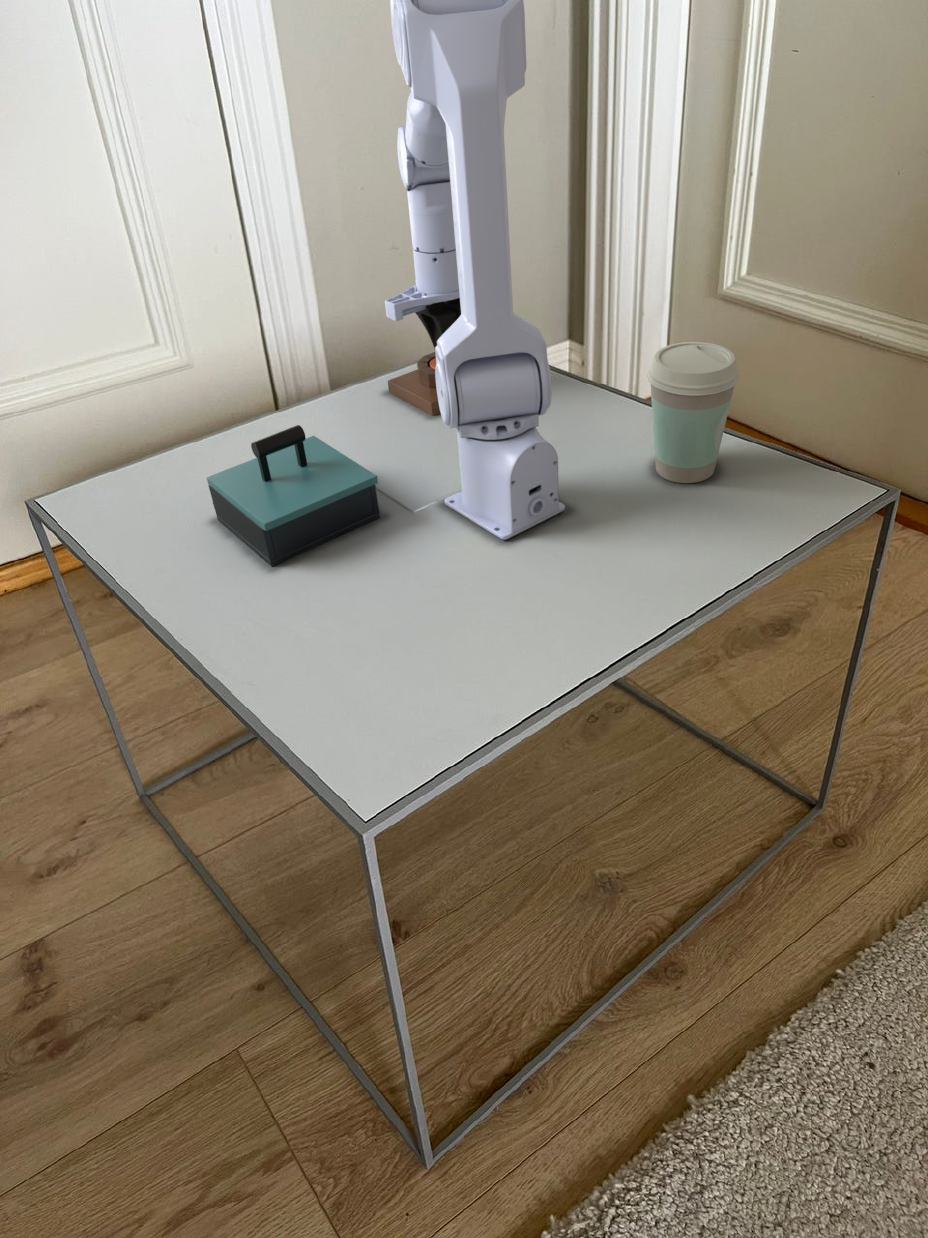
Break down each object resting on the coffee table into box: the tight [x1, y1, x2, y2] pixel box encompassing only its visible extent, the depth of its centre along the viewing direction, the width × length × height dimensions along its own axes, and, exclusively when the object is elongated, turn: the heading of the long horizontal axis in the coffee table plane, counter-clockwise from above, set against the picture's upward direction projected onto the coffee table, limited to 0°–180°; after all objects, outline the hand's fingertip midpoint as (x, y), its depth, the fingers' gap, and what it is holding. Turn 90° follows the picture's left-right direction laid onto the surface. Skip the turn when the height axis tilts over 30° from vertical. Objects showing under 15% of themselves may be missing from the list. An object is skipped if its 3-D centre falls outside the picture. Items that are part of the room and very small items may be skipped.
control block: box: [387, 351, 441, 417], centre depth 114 cm, size 12×9×4 cm
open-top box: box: [208, 484, 381, 567], centre depth 93 cm, size 11×12×4 cm
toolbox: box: [206, 424, 379, 531], centre depth 90 cm, size 12×12×5 cm
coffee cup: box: [646, 341, 740, 484], centre depth 93 cm, size 9×8×12 cm
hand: (447, 362), depth 113 cm, fingers closed, pressing on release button
